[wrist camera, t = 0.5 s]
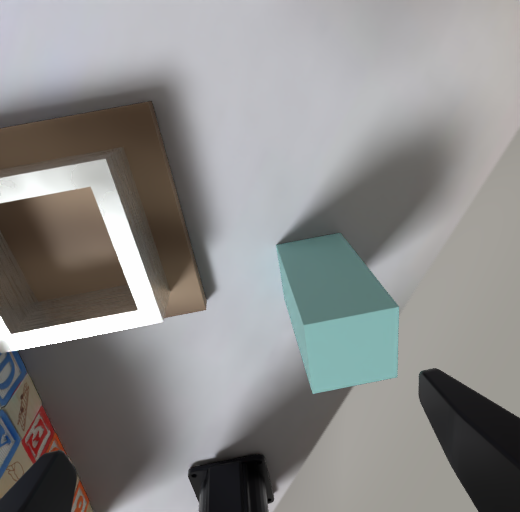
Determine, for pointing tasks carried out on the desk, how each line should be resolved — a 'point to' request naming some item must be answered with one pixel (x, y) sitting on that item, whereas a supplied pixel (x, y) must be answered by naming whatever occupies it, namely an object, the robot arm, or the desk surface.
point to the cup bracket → (124, 241)
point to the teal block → (338, 314)
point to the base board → (95, 208)
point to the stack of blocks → (25, 428)
